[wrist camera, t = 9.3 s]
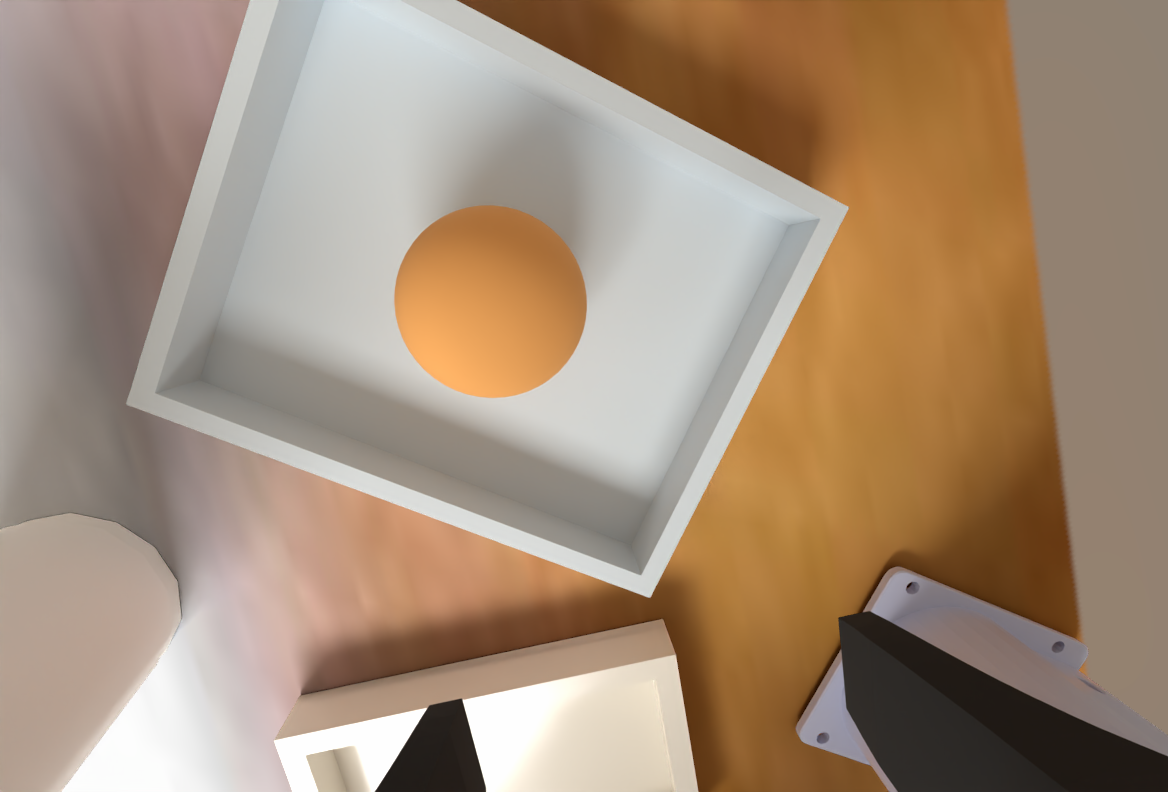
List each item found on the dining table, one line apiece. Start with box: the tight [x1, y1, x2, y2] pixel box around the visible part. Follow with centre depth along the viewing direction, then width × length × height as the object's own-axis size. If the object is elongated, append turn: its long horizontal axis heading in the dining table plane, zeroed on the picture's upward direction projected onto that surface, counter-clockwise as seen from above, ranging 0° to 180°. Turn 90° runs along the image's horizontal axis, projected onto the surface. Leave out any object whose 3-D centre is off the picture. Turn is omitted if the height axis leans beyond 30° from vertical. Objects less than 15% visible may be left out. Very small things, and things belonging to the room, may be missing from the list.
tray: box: [126, 0, 849, 598], centre depth 16 cm, size 16×13×3 cm
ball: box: [394, 205, 587, 398], centre depth 15 cm, size 5×5×5 cm
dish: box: [274, 619, 698, 792], centre depth 20 cm, size 14×9×2 cm
